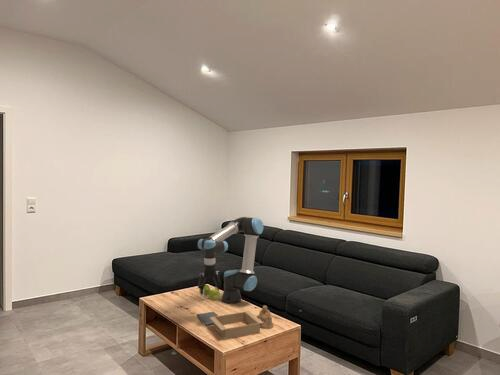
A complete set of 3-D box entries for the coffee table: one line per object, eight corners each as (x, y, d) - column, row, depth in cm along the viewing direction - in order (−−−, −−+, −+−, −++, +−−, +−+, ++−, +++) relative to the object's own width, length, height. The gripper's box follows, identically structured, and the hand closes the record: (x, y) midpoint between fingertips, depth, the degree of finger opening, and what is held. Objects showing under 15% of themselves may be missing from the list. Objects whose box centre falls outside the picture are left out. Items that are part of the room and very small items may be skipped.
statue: (276, 305, 257) (273, 306, 248) (274, 328, 254) (272, 329, 244) (258, 304, 260) (254, 304, 251) (256, 326, 257) (253, 327, 247)
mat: (213, 313, 271) (213, 311, 271) (223, 323, 254) (223, 321, 254) (196, 316, 266) (196, 314, 266) (205, 326, 249) (205, 324, 249)
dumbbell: (198, 295, 264) (198, 285, 263) (208, 293, 268) (208, 283, 268) (210, 302, 250) (210, 291, 250) (221, 300, 255) (221, 289, 255)
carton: (248, 319, 260) (248, 311, 260) (263, 332, 240) (263, 322, 240) (209, 326, 248) (209, 317, 248) (221, 340, 229) (221, 330, 229)
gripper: (222, 261, 266) (222, 293, 267) (192, 264, 257) (192, 298, 258) (226, 263, 259) (226, 297, 260) (195, 266, 250) (195, 301, 251)
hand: (209, 297), depth 259 cm, fingers closed on dumbbell, 8 cm apart
